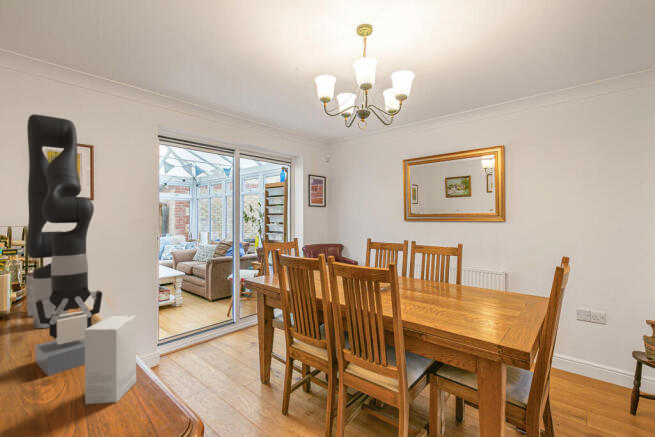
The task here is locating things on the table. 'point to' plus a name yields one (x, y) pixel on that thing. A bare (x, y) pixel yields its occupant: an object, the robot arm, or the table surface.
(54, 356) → the slate block
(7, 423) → the table surface
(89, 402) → the skincare box
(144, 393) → the table surface
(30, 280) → the candy bar box
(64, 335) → the cream block
